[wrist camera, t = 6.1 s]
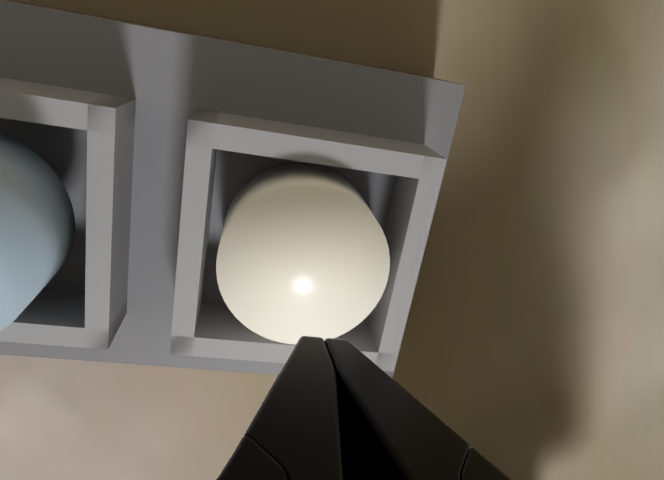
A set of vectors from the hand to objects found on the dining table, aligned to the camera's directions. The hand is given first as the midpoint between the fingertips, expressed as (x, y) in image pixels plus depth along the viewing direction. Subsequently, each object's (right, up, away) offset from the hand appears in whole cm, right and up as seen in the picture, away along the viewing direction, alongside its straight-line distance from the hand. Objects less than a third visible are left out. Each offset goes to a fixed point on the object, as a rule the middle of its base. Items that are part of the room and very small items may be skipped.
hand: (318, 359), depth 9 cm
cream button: (-1, +2, +6) cm, 7 cm away
